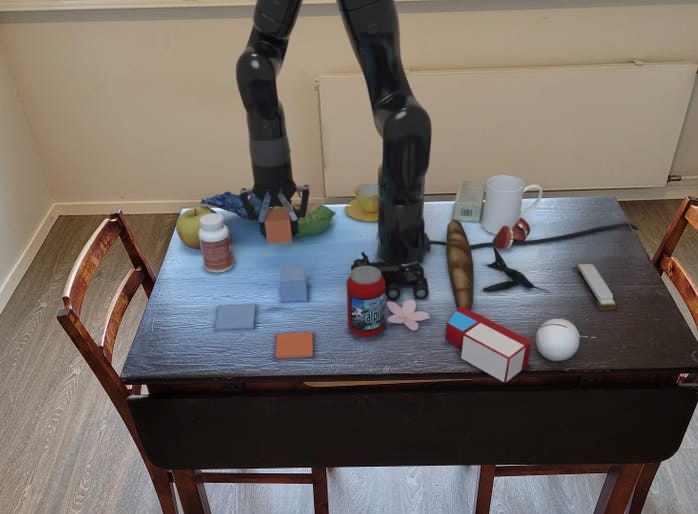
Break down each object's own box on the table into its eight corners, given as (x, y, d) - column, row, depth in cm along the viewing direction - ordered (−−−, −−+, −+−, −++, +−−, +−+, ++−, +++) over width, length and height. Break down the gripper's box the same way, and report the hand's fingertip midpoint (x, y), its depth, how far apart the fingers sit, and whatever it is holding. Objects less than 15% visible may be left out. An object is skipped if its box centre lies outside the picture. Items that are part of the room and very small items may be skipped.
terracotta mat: (312, 334, 128) (312, 331, 127) (313, 357, 123) (312, 354, 122) (277, 336, 128) (276, 333, 127) (276, 358, 123) (275, 356, 122)
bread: (441, 223, 158) (443, 203, 155) (463, 223, 158) (465, 203, 154) (452, 324, 129) (454, 302, 126) (479, 324, 129) (482, 302, 125)
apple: (235, 233, 153) (222, 200, 148) (204, 257, 148) (189, 224, 143) (207, 228, 159) (193, 196, 154) (176, 251, 154) (161, 219, 149)
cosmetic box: (479, 222, 158) (484, 198, 167) (481, 204, 155) (486, 181, 164) (451, 219, 159) (458, 196, 168) (453, 201, 157) (460, 179, 166)
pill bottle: (239, 267, 146) (232, 220, 139) (212, 277, 143) (203, 229, 136) (226, 255, 150) (218, 208, 143) (199, 263, 147) (190, 216, 140)
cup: (406, 208, 164) (407, 187, 160) (372, 227, 157) (372, 206, 154) (368, 193, 170) (368, 173, 167) (334, 211, 164) (333, 190, 160)
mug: (485, 236, 153) (490, 192, 146) (479, 218, 159) (483, 175, 152) (540, 234, 153) (548, 190, 146) (532, 217, 159) (539, 173, 152)
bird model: (531, 275, 146) (542, 301, 138) (475, 265, 144) (482, 291, 136) (541, 253, 143) (552, 279, 135) (483, 242, 141) (491, 268, 133)
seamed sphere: (522, 343, 118) (533, 313, 122) (543, 372, 121) (553, 342, 125) (577, 333, 111) (587, 302, 115) (597, 364, 114) (606, 332, 118)
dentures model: (511, 243, 144) (537, 229, 148) (499, 227, 145) (524, 214, 148) (498, 257, 149) (524, 244, 153) (487, 242, 150) (512, 229, 153)
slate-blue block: (307, 286, 140) (305, 265, 137) (307, 300, 136) (305, 279, 133) (282, 287, 140) (280, 266, 137) (281, 302, 136) (279, 280, 133)
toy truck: (461, 304, 124) (437, 320, 121) (532, 340, 116) (509, 358, 113) (459, 329, 128) (435, 345, 124) (528, 366, 120) (505, 384, 116)
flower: (438, 338, 129) (440, 332, 127) (385, 338, 126) (387, 332, 125) (426, 301, 135) (428, 295, 134) (376, 301, 133) (377, 295, 132)
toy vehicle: (350, 279, 141) (349, 242, 136) (424, 276, 142) (426, 238, 136) (352, 303, 135) (351, 264, 129) (430, 299, 135) (432, 260, 130)
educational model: (322, 246, 151) (321, 223, 148) (254, 237, 155) (251, 215, 151) (340, 221, 160) (340, 199, 157) (275, 214, 164) (273, 192, 161)
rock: (263, 216, 146) (262, 225, 147) (283, 197, 162) (282, 205, 162) (196, 200, 147) (195, 209, 148) (222, 183, 162) (221, 191, 163)
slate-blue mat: (255, 306, 135) (255, 303, 135) (253, 328, 130) (253, 325, 129) (219, 308, 135) (219, 305, 134) (215, 330, 129) (215, 327, 129)
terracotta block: (293, 230, 145) (290, 208, 142) (292, 242, 141) (289, 220, 138) (268, 231, 145) (266, 209, 142) (267, 243, 141) (264, 221, 138)
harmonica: (616, 309, 131) (618, 301, 130) (600, 310, 131) (602, 301, 130) (589, 268, 143) (591, 259, 141) (575, 269, 142) (576, 260, 141)
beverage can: (357, 344, 125) (355, 288, 118) (342, 323, 130) (340, 268, 122) (391, 334, 127) (391, 278, 120) (375, 314, 132) (375, 259, 124)
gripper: (230, 167, 129) (243, 247, 140) (308, 162, 129) (315, 242, 140) (234, 150, 135) (246, 228, 146) (308, 146, 135) (315, 224, 146)
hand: (280, 235), depth 143 cm, fingers closed on terracotta block, 5 cm apart
